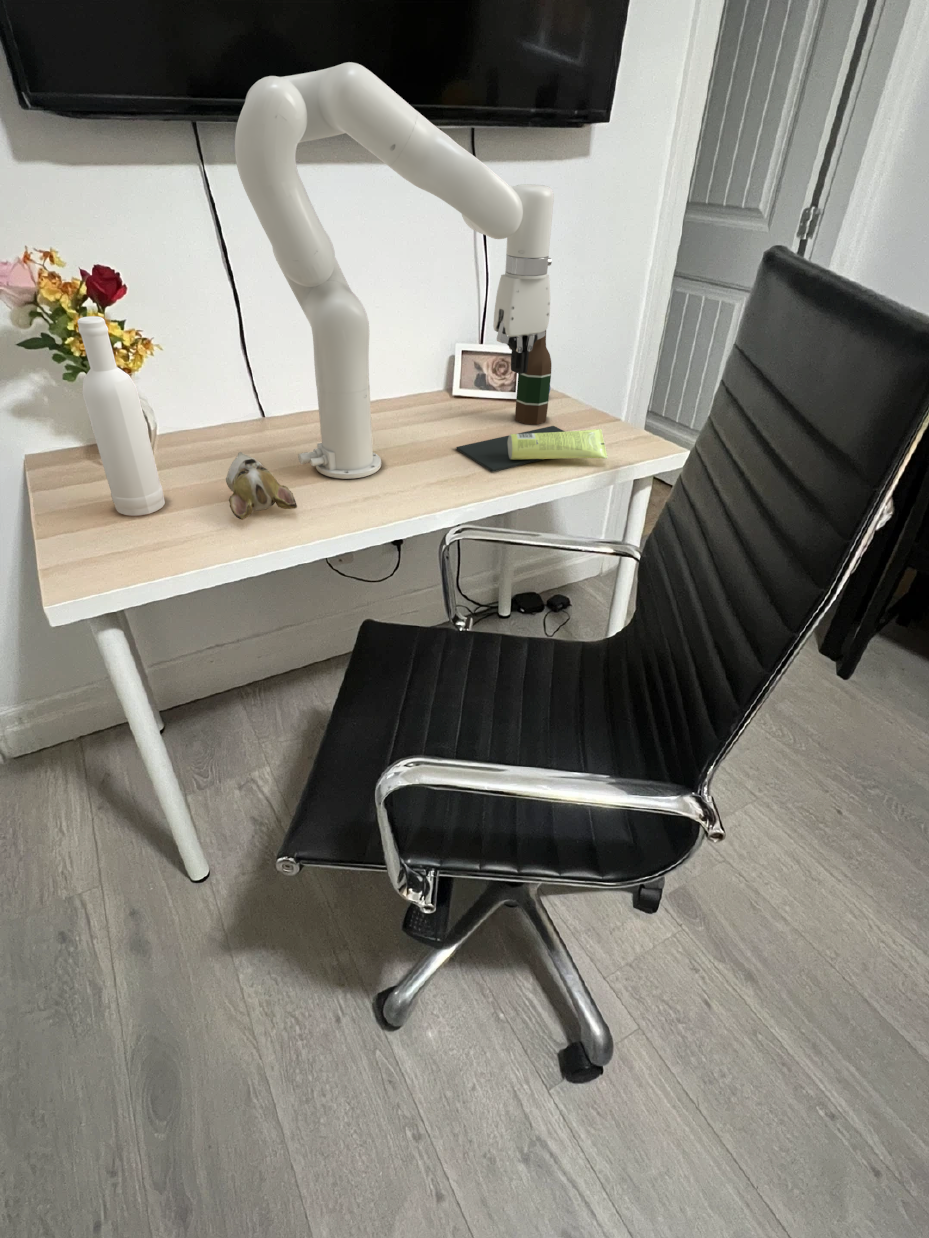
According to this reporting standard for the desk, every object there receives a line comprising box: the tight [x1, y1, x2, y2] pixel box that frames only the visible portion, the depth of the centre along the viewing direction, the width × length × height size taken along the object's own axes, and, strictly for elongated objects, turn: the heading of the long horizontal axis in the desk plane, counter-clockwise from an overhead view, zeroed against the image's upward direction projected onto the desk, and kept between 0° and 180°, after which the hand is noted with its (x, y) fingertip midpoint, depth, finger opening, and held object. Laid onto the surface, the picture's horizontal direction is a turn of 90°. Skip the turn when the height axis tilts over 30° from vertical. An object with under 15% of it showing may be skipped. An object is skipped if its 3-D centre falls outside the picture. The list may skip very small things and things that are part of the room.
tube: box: [507, 428, 609, 460], centre depth 137 cm, size 6×5×20 cm
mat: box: [455, 425, 566, 473], centre depth 144 cm, size 26×13×1 cm, turn 124°
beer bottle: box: [514, 329, 552, 426], centre depth 151 cm, size 8×8×24 cm
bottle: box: [76, 315, 166, 517], centre depth 108 cm, size 8×8×30 cm
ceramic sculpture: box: [225, 451, 298, 521], centre depth 116 cm, size 11×9×15 cm
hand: (518, 371), depth 133 cm, fingers closed
